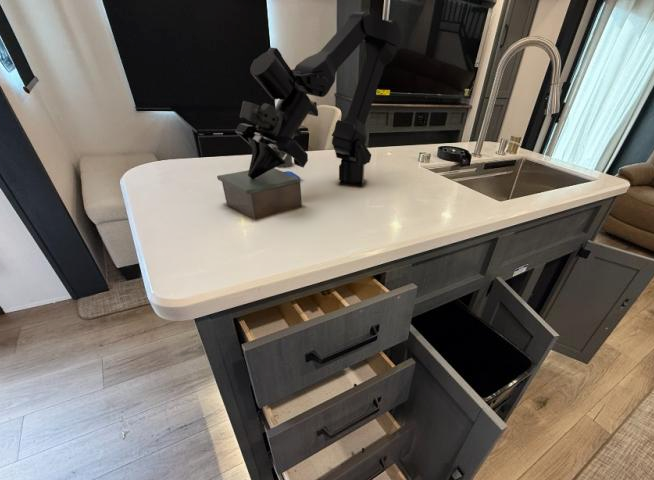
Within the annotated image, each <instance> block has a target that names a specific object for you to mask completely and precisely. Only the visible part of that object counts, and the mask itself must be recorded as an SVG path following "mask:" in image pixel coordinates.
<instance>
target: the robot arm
mask: <svg viewBox="0 0 654 480" xmlns="http://www.w3.org/2000/svg"><path fill="white" fill-rule="evenodd" d="M363 41H364V43H363ZM401 42H402V29H401V27H400V25H399V23H398V21H396V20H391V19H390V20H388V19H383V18H380V17H377V16H374V15H372V13H369V12H367V11H366V12H365V11H354V12H352V13H351V14H350V15H349V16H348V19H347V20H346V22H345V23H344V24H343V25H342V26H341V27H340V28H339V29H338V30H337V32H335V34H334V35H333V36H332V37H331V38H330V40H328V41H327V43H326V44H325V45H324V46H323V47H322V48H321V50H319V51H318V52H317V53H315V54H312V55H310V56H307V57H305V58H304V59H302V61H300V62H298V64H296V65H295V67H294V69H291V67H290V66H289V64H288V63H287V61H286V60H285V59H284V57H283V55H282V54H281V51H280V50H279V49H278V48H277V47H269V48H268V50H267V51H265V52H263V53H262V54H260V55H259V56H258V57H257V58H255V59H253V61H252V63H251V65H250V68H249V72H250V74H251V76H253V78H254V79H255V80H256V81H257V82H258V84H259V85H260V86H261V87H262V89H264V91H265V92H266V93H267V95H269V97H270V98H271V99H272V100H280V101H279V103H277V104H278V105H277V106H276V107H275V106H273V105H272V104H270V103H266V102H264V103H262V105H258V104H255V103H253V102H250V101H246V100H243V101H242V103H241V108H240V113H239V118H240V119H241V120H244V121H248V122H250V123H252V124H254V125H256V126H254V125H251V124H248V123H246V122H244V123H238V126H236V128H235V130H234V131H235V133H236V134H237V135H238V136H240V138H241V139H243V140H244V141H245V142H246V143H247V144H248V145H249V146H250V147H251V148H252V149H251V150H252V152H251V159H250V162H249V163H250V164H249V168H248V170H249V173H248V176H249V177H250V178H252V179H255V178H257V177H258V176H260V175H262V174H264V173H265V172H267V171H269V170H271V169H273V168H275V169H276V168H278V166H279V165H281V164H285V163H286V162H285V161H284V159H285V157H286V156H287V155H290V156H292V159H293V164H294V165H295V166H297V167H300V168H303V169H304V168H305V166H306V165H307V163H308V162H309V156H308V155H309V154H308V153H307V152H306V151H305V149H304V148H303V147H302V146H301V144H300V143H298V141H296V140H295V138H294V137H295V136H296V137H300V136H301V134H302V131H301V130H300V127H301V126H302V124H303V123H304V122H305V119H306V118H307V116H308V115H310V116H314V117H318V116H319V110H318V107H317V106H318V105H317V101H313V100H311V99H310V97H309V96H314V97H319V98H323V97H324V98H325V97H326V96H327V95H328V94H329V92H330V90H331V88H332V87H333V85H334V84H335V82H336V76H337V72H338V71H339V69H340V68H341V67H342V65H343V64H344V63H345V62H346V61H347V60H348V59H349V57H350V56H351V55H352V54H353V53H354V52H355V50H356V49H357V48H358V47H359V45H360V44H361V43H363V45H364V51H365V59H364V63H363V66H362V69H361V72H360V74H359V78H358V81H357V85H356V89H355V91H354V94H353V97H352V100H351V103H350V106H349V109H348V113H347V115H346V117H345V118H344V119H343V120H340V119H337V120H336V122H335V125H334V129H333V132H332V134H331V136H332V140H331V144H332V147H333V149H334V153H335V156H336V157H335V158H336V159H340V164H339V166H338V180H339V185H343V186H351V187H359V188H361V187H363V186H364V183H365V181H366V179H365V166H366V165H367V164H369V163H370V162H371V158H372V154H371V152H370V150H369V149H368V147H367V146H366V141H367V130H366V123H367V120H368V116H369V113H370V111H371V108H372V105H373V101H374V99H375V96H376V93H377V90H378V87H379V84H380V81H381V78H382V75H383V72H384V69H385V66H387V65H388V64H389V63H390V62H391V61H392V60H393V58H395V56H396V54H397V52H398V50H399V47H400V45H401V44H402V43H401ZM308 95H309V96H308Z"/></svg>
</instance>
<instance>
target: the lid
mask: <svg viewBox="0 0 654 480" xmlns="http://www.w3.org/2000/svg"><path fill="white" fill-rule="evenodd" d="M248 173H249V169H248V170H242V171H237V172H232V173H231V172H230V173H225V174H220V175H217V176H216V178H217V180H218V181H220V182H221V183H222V182H224V183H226V184H228V185H230V186H232V187H234V188H236V189H238V190H239V191H241V192H243V193H245V194H251V193H255V192H260V191H264V190H268V189H273V188H277V187H281V186H286V185H290V184H294V183H299V182H300V183H301V178H300V179H299V178H297V177H294V176H292V175H290V174H287V173H285V171H282V170H279V169H278V168H276V167H275V168H273V169H271V170H269V171H267V172H265V173H264V174H262V175H260V176H258V177H257V178H255V179H252V178H250V177H249V176H248Z"/></svg>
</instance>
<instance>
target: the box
mask: <svg viewBox="0 0 654 480" xmlns="http://www.w3.org/2000/svg"><path fill="white" fill-rule="evenodd" d="M221 185H222V189H223V195H224V198H225V202H226V205H227V206H230V208H232V209H234V210H236V211H238V212H240V213H242V215H243V214H244V216H246V217H249V218H250V219H252V220H253V221H257V220H260V219H265V218H268V217H271V216H274V215H275V216H276V215H278V214H283V213H285V212H289V211H292V210H295V209H299V208H302V207H303V200H302V187H301V186H302V185H301V181H300V182H299V183H294V184H290V185H286V186H281V187H277V188H273V189H268V190H264V191H260V192H255V193H251V194H245V193H243V192H241V191H239V190H238V189H236V188H234V187H232V186H230V185H228V184H226V183H224V182H222V181H221Z"/></svg>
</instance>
